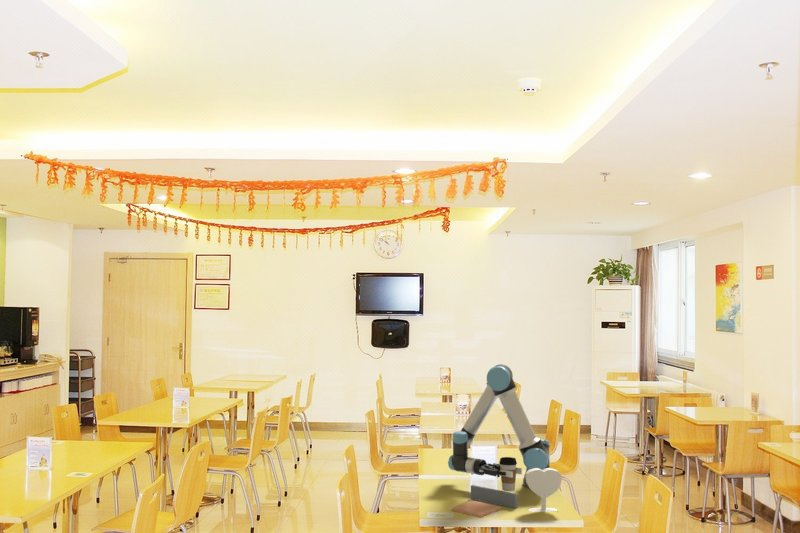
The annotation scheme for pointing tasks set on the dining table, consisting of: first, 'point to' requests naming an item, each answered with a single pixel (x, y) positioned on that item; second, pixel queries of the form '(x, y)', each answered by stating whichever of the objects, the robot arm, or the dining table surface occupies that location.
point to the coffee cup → (508, 465)
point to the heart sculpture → (543, 485)
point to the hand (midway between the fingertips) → (516, 472)
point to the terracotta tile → (476, 508)
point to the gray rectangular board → (494, 496)
